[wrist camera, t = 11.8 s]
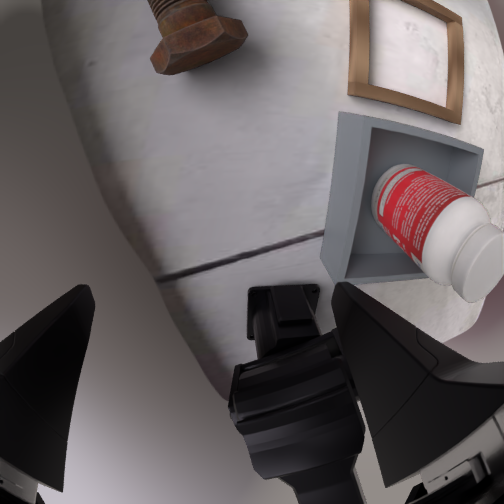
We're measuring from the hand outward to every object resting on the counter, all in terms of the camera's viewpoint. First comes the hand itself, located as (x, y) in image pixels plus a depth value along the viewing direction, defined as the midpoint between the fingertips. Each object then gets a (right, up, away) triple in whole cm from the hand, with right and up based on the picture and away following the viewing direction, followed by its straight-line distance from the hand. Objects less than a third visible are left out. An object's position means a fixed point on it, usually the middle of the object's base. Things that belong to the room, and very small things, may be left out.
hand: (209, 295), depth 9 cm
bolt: (-4, +20, +2) cm, 21 cm away
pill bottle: (+14, +6, +11) cm, 19 cm away
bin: (+13, +6, +12) cm, 19 cm away
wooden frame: (+14, +18, +5) cm, 23 cm away
